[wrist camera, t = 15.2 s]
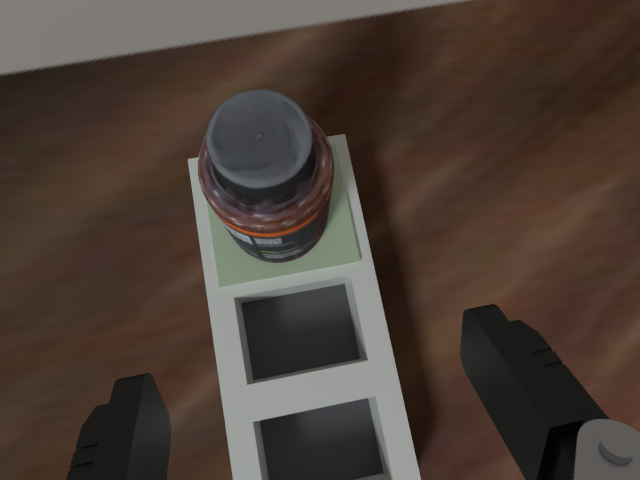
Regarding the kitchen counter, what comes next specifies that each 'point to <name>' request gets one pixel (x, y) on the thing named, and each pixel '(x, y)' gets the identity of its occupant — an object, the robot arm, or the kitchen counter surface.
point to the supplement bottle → (267, 174)
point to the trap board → (306, 350)
